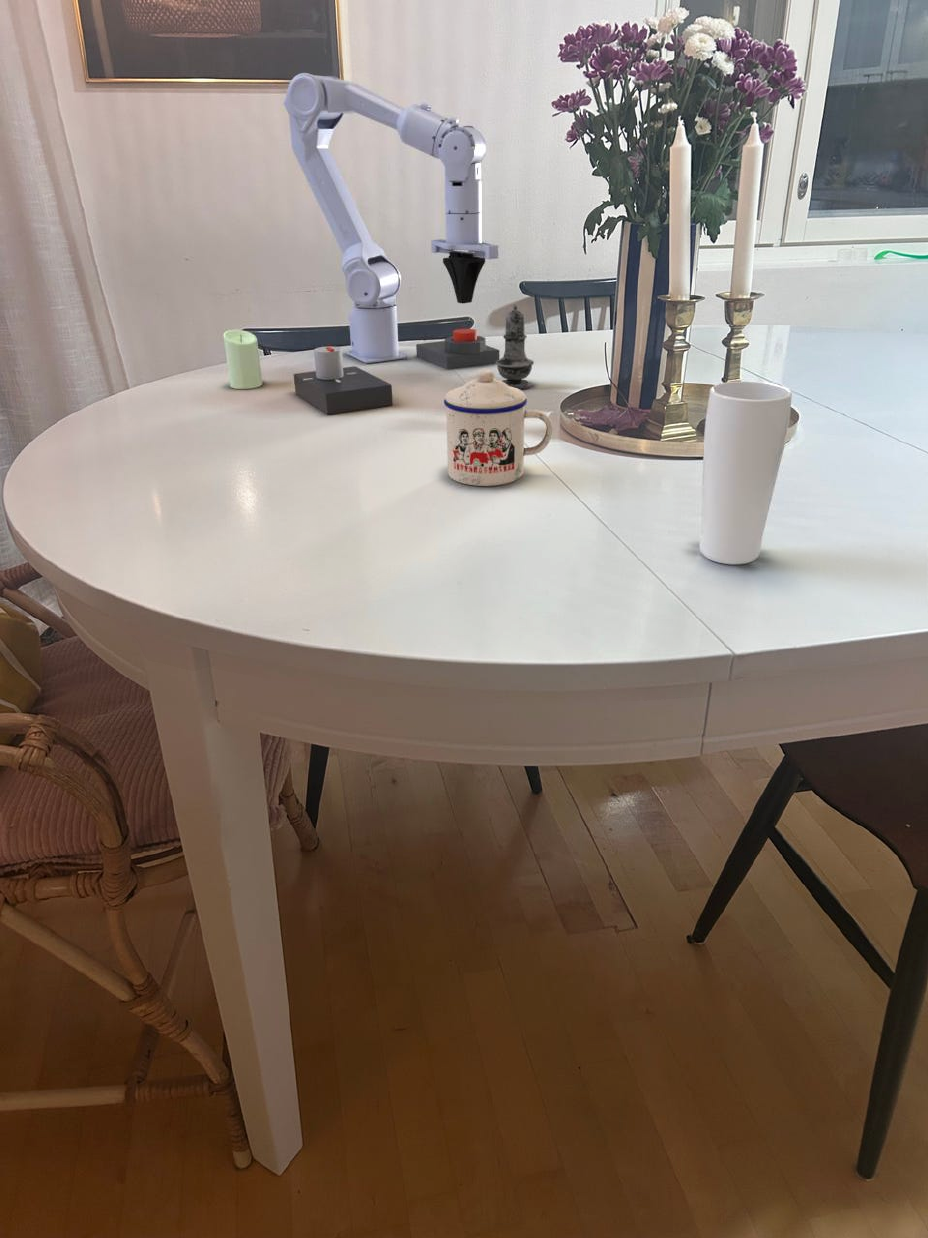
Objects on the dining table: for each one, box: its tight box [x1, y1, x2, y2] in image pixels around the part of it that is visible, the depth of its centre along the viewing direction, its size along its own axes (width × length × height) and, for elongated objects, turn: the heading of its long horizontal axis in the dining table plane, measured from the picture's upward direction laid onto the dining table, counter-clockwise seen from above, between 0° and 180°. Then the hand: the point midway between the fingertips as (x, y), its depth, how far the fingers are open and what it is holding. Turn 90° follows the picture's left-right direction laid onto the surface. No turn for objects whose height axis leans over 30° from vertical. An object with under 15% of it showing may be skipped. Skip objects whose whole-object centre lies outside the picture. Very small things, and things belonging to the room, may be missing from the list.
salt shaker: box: [495, 304, 535, 390], centre depth 137 cm, size 6×6×12 cm
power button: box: [452, 328, 478, 342], centre depth 152 cm, size 4×4×2 cm
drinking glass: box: [699, 380, 793, 565], centre depth 79 cm, size 7×7×15 cm
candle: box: [222, 329, 263, 390], centre depth 140 cm, size 5×5×8 cm
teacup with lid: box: [443, 369, 554, 487], centre depth 100 cm, size 12×9×12 cm
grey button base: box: [415, 335, 500, 370], centre depth 156 cm, size 12×10×4 cm
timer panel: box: [293, 365, 394, 416], centre depth 133 cm, size 14×10×3 cm
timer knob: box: [313, 346, 344, 380], centre depth 133 cm, size 4×4×4 cm
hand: (464, 302), depth 150 cm, fingers closed
